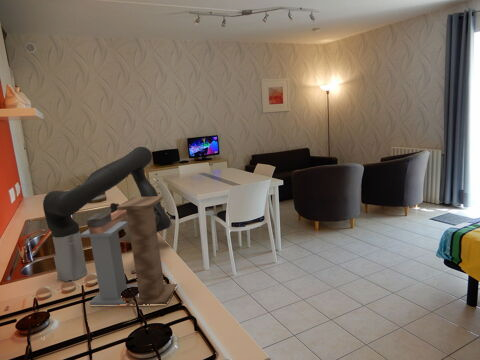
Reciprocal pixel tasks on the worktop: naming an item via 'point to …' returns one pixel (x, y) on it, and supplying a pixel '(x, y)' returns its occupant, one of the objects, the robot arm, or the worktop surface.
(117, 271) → the blue-grey pedestal
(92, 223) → the grey and brown bar
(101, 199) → the mug
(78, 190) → the robot arm
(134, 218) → the cat scratching post
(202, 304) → the worktop surface
